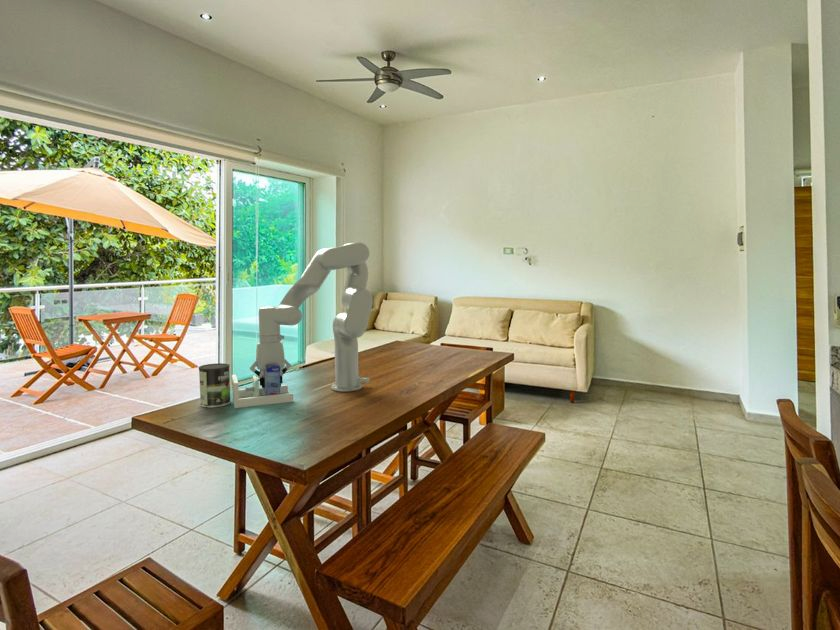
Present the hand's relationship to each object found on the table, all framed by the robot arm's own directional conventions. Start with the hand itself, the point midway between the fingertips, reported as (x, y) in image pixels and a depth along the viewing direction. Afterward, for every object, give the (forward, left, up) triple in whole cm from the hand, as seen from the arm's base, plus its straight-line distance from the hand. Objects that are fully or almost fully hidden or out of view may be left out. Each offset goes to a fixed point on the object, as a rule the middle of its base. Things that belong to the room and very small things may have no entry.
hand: (271, 385), depth 175 cm
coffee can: (+19, -2, -5) cm, 20 cm away
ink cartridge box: (0, 0, -4) cm, 4 cm away
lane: (+2, 0, -5) cm, 6 cm away
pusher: (+7, 0, -5) cm, 9 cm away
